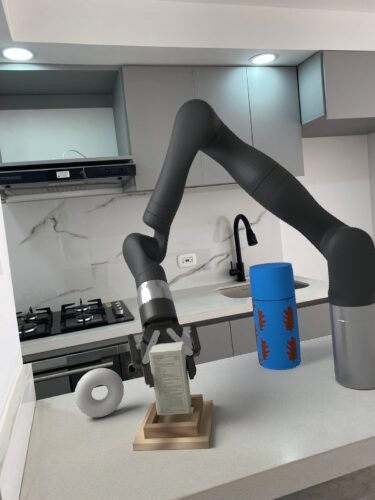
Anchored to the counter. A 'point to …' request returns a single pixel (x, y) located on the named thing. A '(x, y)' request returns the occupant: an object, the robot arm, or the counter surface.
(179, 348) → the skincare box
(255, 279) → the thermos
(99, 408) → the donut
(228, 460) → the counter surface
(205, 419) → the wooden square holder
